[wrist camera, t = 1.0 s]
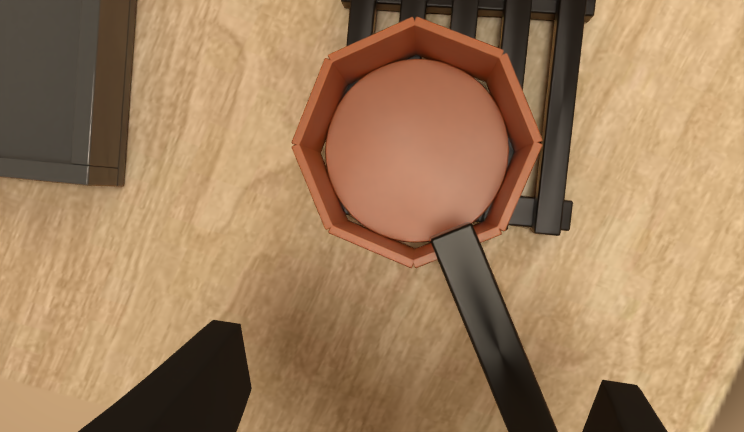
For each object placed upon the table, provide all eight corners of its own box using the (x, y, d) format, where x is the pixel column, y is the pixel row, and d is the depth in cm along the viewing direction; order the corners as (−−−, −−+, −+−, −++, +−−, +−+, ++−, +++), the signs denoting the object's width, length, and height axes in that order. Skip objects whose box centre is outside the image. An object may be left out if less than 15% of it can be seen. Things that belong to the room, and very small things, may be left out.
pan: (615, 378, 20) (672, 431, 15) (431, 443, 20) (434, 511, 16) (469, 22, 20) (483, -28, 15) (291, 102, 21) (255, 75, 16)
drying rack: (564, 234, 21) (573, 237, 20) (325, 210, 22) (318, 212, 21) (592, -13, 21) (604, -28, 19) (346, -26, 21) (341, -41, 20)
